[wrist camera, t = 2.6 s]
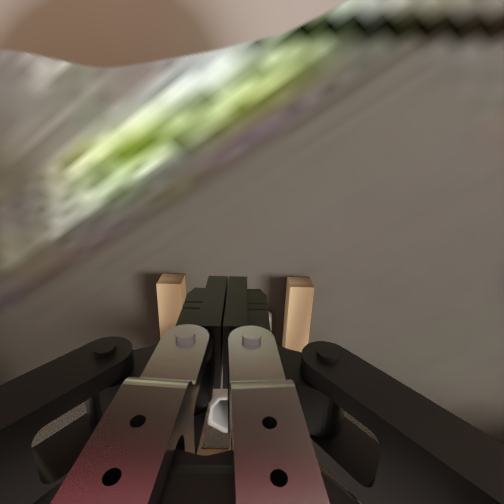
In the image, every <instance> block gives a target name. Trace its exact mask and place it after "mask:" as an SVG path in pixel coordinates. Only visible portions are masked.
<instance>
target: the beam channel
mask: <svg viewBox="0 0 504 504" xmlns="http://www.w3.org/2000/svg"><path fill="white" fill-rule="evenodd" d="M156 286H157V299H158V313H159V327H160V339H161V337H162V336H163V334H164V333H165V332H166V331H167V330H169V329H171V328H173V327H175V326H176V323H177V320H178V318H179V315H180V312H181V309H182V307H183V304H184V302H185V298H186V280H185V274H162V275H161V277H160V278H159V280H158V282H157V283H156ZM313 294H314V286H313V284H312V281H311V279H310V277H287V287H286V300H285V312H284V325H283V337H282V346H283V347H285V348H287V349H291V350H294V351H299V352H302V350H303V348H304V347H305V346H306V345H307V344H308V338H309V329H310V320H311V311H312V303H313ZM225 451H228V449H201V453H200V455H202V456H207V455H212V454H216V453H220V452H225Z"/></svg>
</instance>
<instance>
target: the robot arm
mask: <svg viewBox="0 0 504 504" xmlns="http://www.w3.org/2000/svg"><path fill="white" fill-rule="evenodd" d="M222 369H223V389H228V394H227V397H228V398H227V420H228V451H225V452H220V453H216V454H212V455H207V456H202V455H200V453H201V449H202V444H203V440H204V435H205V431H206V426H207V422H208V417H209V413H210V401H211V399H212V393H213V389H221V379H222ZM84 401H85V404H86V410H87V413H86V414H85V415H83V416H81V417H80V418H78V419H77V420H75V421H74V422H72V423H70V424H69V425H67V426H66V427H64V428H63V429H61V430H60V431H58V432H56V433H55V434H53V435H52V436H50V437H49V438H47V439H45V440H44V441H42V442H41V443H39V444H38V445H36V446H34V447H33V448H31V444H32V440H33V438H34V436H35V435H36V434H37V432H38V431H39V430H40V429H41V428H42V427H44V426H45V425H47V424H48V423H50V422H51V421H53V420H55V419H56V418H58V417H60V416H61V415H63V414H65V413H66V412H68V411H70V410H71V409H73V408H74V407H76V406H78V405H79V404H81V403H83V402H84ZM344 411H346V412H347V413H349V414H350V415H351V416H353V417H354V418H355V419H357V420H358V421H359V422H360V423H362V424H363V425H364V426H366V427H367V428H368V429H369V430H371V431H372V432H373V433H374V434H375V436H376V437H377V439H378V440H379V442H380V444H379V443H377V442H376V441H375V440H374V439H372V438H371V437H370V436H369V435H367V434H366V433H365V432H363V431H362V430H361V429H360V428H358V427H357V426H356V425H355V424H353V423H352V422H351V421H349V420H348V419H347V418H346V417H344ZM317 460H318V461H319V462H320V463H321V464H322V465H323V466H324V467H325V468H326V469H327V470H328V471H329V472H330V473H331V474H332V475H333V476H334V477H335V478H337V479H338V480H339V481H340V482H341V483H342V484H343V485H344V486H345V487H346V488H347V489H348V490H349V491H350V492H351V493H352V494H353V495H354V496H355V497H356V498H357V499H358V500H359V501H360V502H361V503H362V504H504V445H503V444H502V443H500V442H499V441H497V440H495V439H494V438H492V437H490V436H489V435H487V434H485V433H484V432H482V431H480V430H479V429H477V428H475V427H474V426H472V425H470V424H469V423H467V422H465V421H464V420H462V419H460V418H459V417H457V416H455V415H454V414H452V413H450V412H449V411H447V410H446V409H444V408H442V407H441V406H439V405H437V404H436V403H434V402H432V401H431V400H429V399H427V398H426V397H424V396H422V395H421V394H419V393H417V392H416V391H414V390H412V389H411V388H409V387H407V386H406V385H404V384H402V383H401V382H399V381H397V380H396V379H394V378H392V377H391V376H389V375H388V374H386V373H384V372H383V371H381V370H379V369H378V368H376V367H374V366H373V365H371V364H369V363H368V362H366V361H364V360H363V359H361V358H359V357H358V356H356V355H354V354H353V353H351V352H349V351H348V350H346V349H344V348H343V347H341V346H339V345H337V344H334V343H331V342H325V341H316V342H312V343H309V344H307V345H306V346H305V347H304V348H303V350H302V352H299V351H294V350H291V349H287V348H285V347H283V346H281V345H279V344H278V343H277V342H276V341H275V337H274V335H273V334H272V333H271V329H270V321H269V313H268V305H267V298H266V295H265V294H264V293H263V292H262V291H261V290H260V289H247V277H234V276H229V279H228V277H227V276H209V278H208V281H207V285H206V288H194V289H193V290H191V291H190V292H189V293H188V294H187V296H186V298H185V302H184V304H183V307H182V309H181V312H180V315H179V318H178V320H177V323H176V326H175V327H173V328H171V329H169V330H167V331H166V332H165V333H164V334H163V336H162V337H161V339H160V341H159V343H158V345H155V346H152V347H147V348H142V349H137V350H133V348H132V344H131V342H130V341H129V340H127V339H125V338H122V337H105V338H101V339H98V340H95V341H92V342H90V343H88V344H86V345H84V346H82V347H80V348H78V349H76V350H73V351H71V352H69V353H67V354H65V355H63V356H61V357H59V358H57V359H55V360H53V361H50V362H48V363H46V364H44V365H42V366H40V367H38V368H36V369H34V370H32V371H29V372H27V373H25V374H23V375H21V376H19V377H17V378H15V379H13V380H11V381H8V382H6V383H4V384H2V385H0V504H360V503H359V502H358V501H357V500H356V499H355V498H354V497H353V496H352V495H351V494H350V493H349V492H348V491H347V490H346V489H345V488H344V487H342V486H341V485H340V484H339V483H338V482H336V481H335V480H334V479H332V478H331V477H330V476H328V475H327V474H325V473H323V472H321V471H320V468H319V465H318V461H317Z"/></svg>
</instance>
